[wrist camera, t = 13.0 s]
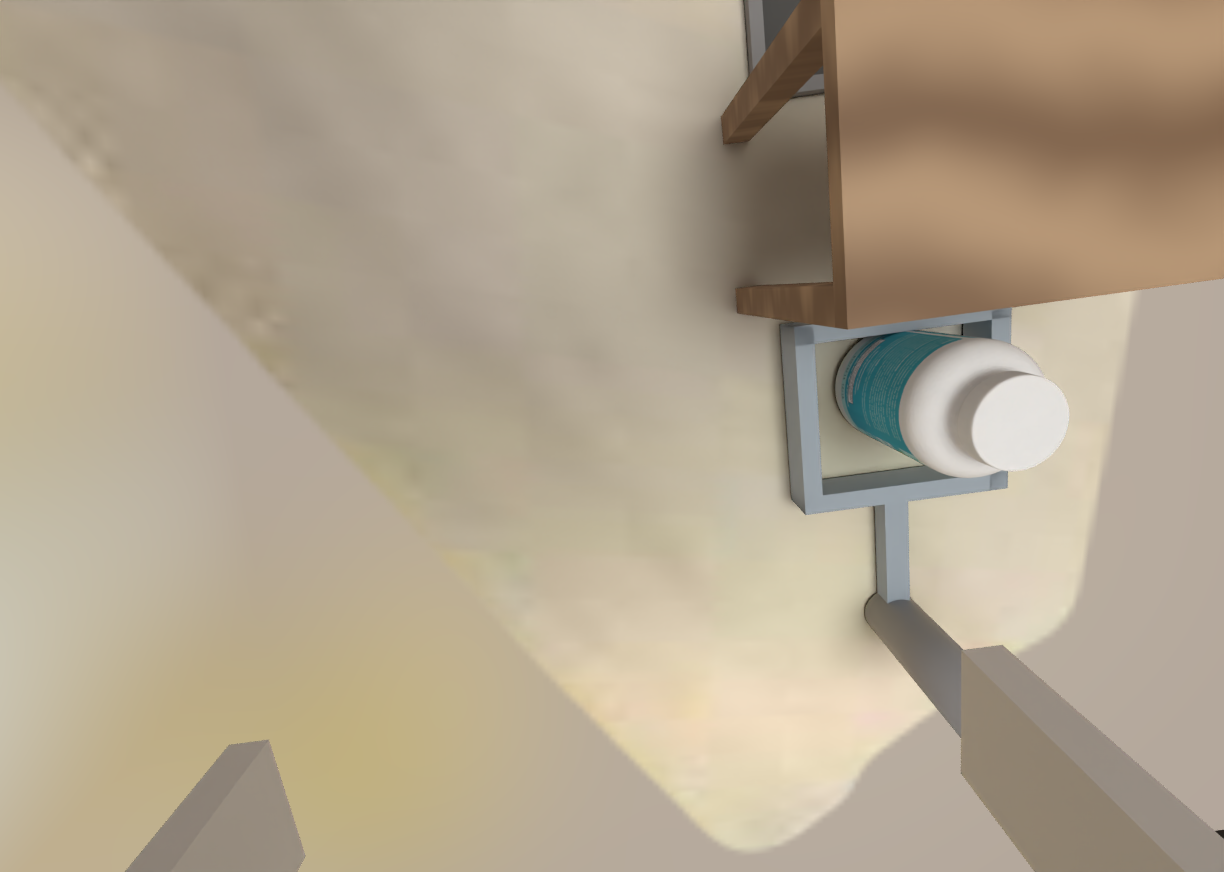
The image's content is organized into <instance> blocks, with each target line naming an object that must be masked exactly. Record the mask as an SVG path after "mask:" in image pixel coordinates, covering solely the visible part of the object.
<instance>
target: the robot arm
mask: <svg viewBox="0 0 1224 872" xmlns="http://www.w3.org/2000/svg"><path fill="white" fill-rule="evenodd" d="M961 774H962V776H963V777H964V778H965V780H966V781H967V782H968V784H969V785H970V786H971V787H972V789H973V790H974V792H975V793H976V794H977V796H978V797H979V798H980V799H981V801H982V802H983V803H984V805H985V806H986V808H987V809H988V810H989V811H990V813H991V814H992V816H993V817H994V818H995V820H996V821H997V822H998V824H999V825H1000V826H1001V827H1002V829H1003V830H1004V831H1005V833H1006V834H1007V836H1008V837H1009V838H1010V839H1011V841H1012V842H1013V844H1014V845H1015V846H1016V848H1017V849H1018V850H1019V851H1020V853H1021V854H1022V855H1023V857H1024V858H1025V859H1026V861H1027V862H1028V863H1029V865H1030V866H1031V867H1032V869H1033V870H1034V871H1035V872H1224V830H1218V831H1214V830H1213V829H1212V828H1211V827H1210V826H1208V825H1207V824H1206V823H1205V822H1204V821H1203V820H1201V819H1200V818H1199V817H1198V816H1197V815H1196V814H1195V813H1194V812H1192V811H1191V810H1190V809H1189V808H1188V807H1187V806H1186V805H1184V804H1183V803H1182V802H1181V801H1180V800H1179V799H1178V798H1176V797H1175V796H1174V795H1173V794H1172V793H1171V792H1170V791H1168V790H1167V789H1166V788H1165V787H1164V786H1163V785H1162V784H1160V783H1159V782H1158V781H1157V780H1156V779H1155V778H1153V777H1152V776H1151V775H1150V774H1149V773H1148V772H1147V771H1146V770H1144V769H1143V768H1142V767H1141V766H1140V765H1139V764H1138V763H1137V762H1135V761H1134V760H1133V759H1132V758H1131V757H1130V756H1129V755H1127V754H1126V753H1125V752H1124V751H1123V750H1122V749H1121V748H1119V747H1118V746H1117V745H1116V744H1115V743H1114V742H1112V741H1111V740H1110V739H1109V738H1108V737H1107V736H1106V735H1105V734H1103V733H1102V732H1101V731H1100V730H1099V729H1098V728H1096V727H1095V726H1094V725H1093V724H1092V723H1091V722H1090V721H1089V720H1087V719H1086V718H1085V717H1084V716H1083V715H1082V714H1081V713H1079V712H1078V711H1077V710H1076V709H1075V708H1074V707H1073V706H1071V705H1070V704H1069V703H1068V702H1067V701H1066V700H1065V699H1063V698H1062V697H1061V696H1060V695H1059V694H1058V693H1057V692H1055V691H1054V690H1053V689H1052V688H1051V687H1050V686H1049V685H1047V684H1046V683H1045V682H1044V681H1043V680H1042V679H1041V678H1039V677H1038V676H1037V675H1036V674H1035V673H1034V672H1033V671H1031V670H1030V669H1029V668H1028V667H1027V666H1026V665H1025V664H1024V663H1022V662H1021V661H1020V660H1019V659H1018V658H1017V657H1016V656H1014V655H1013V654H1012V653H1011V652H1010V651H1009V650H1008V649H1006V648H1005V647H1004V646H1003V645H999V646H991V647H983V648H975V649H968V650H961ZM304 858H305V853H304V850H303V847H302V844H301V840H300V837H299V834H298V831H297V828H296V824H295V822H294V818H293V815H292V812H291V809H290V805H289V802H288V799H287V796H286V793H285V790H284V786H283V783H282V780H281V777H280V774H279V771H278V767H277V764H276V761H275V758H274V755H273V752H272V749H271V745H270V742H269V740H263V741H255V742H247V743H240V744H232V745H229V746H228V747H227V748H226V749H225V750H224V752H223V753H222V754H221V755H220V756H219V758H218V759H217V760H216V761H215V763H214V764H213V765H212V766H211V767H210V769H209V770H208V771H207V772H206V773H205V775H204V776H203V777H202V779H201V780H200V781H199V782H198V783H197V784H196V786H195V787H194V788H193V789H192V791H191V792H190V793H189V794H188V795H187V797H186V798H185V799H184V800H183V802H182V803H181V804H180V805H179V806H178V808H177V809H176V810H175V811H174V812H173V814H172V815H171V816H170V817H169V819H168V820H167V821H166V822H165V823H164V825H163V826H162V827H161V828H160V829H159V831H158V832H157V833H156V834H155V836H154V837H153V838H152V839H151V841H150V842H149V843H148V844H147V845H146V846H145V848H144V849H143V850H142V851H141V853H140V854H139V855H138V856H137V857H136V859H135V860H134V861H133V862H132V863H131V865H130V866H129V867H128V869H127V870H126V871H125V872H297V871H298V870H299V868H300V866H301V864H302V862H303V860H304Z"/></svg>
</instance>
